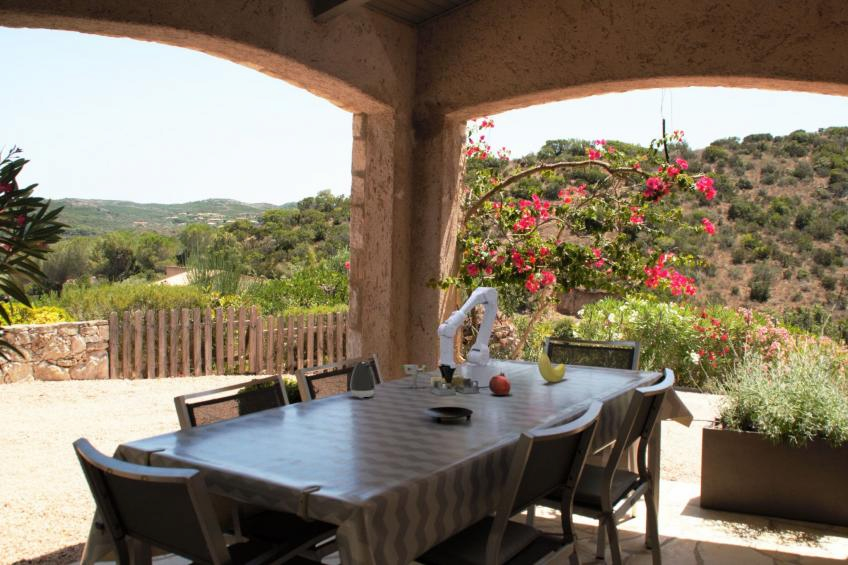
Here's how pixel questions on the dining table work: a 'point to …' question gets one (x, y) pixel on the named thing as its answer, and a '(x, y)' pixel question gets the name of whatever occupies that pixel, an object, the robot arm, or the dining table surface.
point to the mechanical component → (413, 372)
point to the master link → (455, 381)
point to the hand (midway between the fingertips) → (447, 382)
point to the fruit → (499, 384)
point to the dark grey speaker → (362, 380)
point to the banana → (550, 368)
